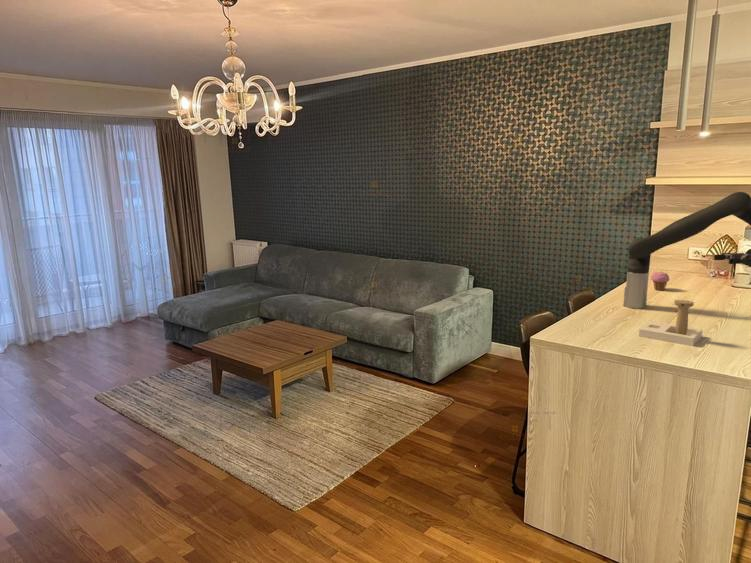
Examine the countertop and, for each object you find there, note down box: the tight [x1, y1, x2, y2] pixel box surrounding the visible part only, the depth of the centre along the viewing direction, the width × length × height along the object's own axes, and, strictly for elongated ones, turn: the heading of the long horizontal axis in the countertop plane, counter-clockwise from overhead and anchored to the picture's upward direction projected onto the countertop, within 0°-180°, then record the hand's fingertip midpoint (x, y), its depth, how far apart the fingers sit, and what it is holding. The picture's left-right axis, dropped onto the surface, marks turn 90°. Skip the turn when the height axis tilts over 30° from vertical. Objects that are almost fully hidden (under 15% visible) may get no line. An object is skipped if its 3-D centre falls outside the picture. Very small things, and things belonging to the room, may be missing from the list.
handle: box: [673, 299, 695, 335], centre depth 197 cm, size 5×6×15 cm
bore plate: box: [638, 320, 703, 347], centre depth 201 cm, size 19×14×3 cm
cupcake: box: [650, 271, 670, 291], centre depth 274 cm, size 9×9×10 cm
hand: (721, 259), depth 199 cm, fingers open, 8 cm apart
